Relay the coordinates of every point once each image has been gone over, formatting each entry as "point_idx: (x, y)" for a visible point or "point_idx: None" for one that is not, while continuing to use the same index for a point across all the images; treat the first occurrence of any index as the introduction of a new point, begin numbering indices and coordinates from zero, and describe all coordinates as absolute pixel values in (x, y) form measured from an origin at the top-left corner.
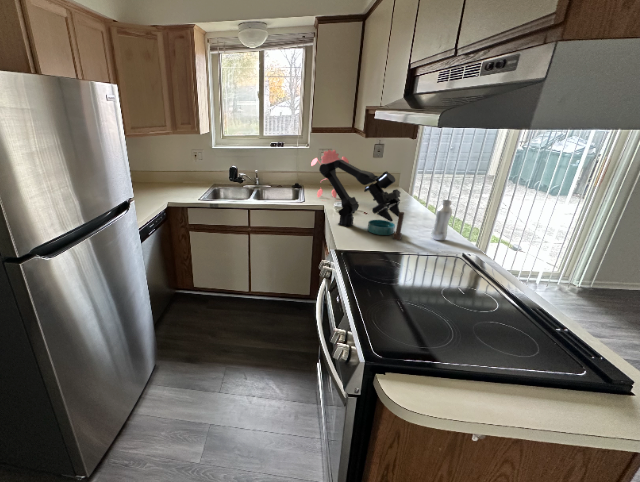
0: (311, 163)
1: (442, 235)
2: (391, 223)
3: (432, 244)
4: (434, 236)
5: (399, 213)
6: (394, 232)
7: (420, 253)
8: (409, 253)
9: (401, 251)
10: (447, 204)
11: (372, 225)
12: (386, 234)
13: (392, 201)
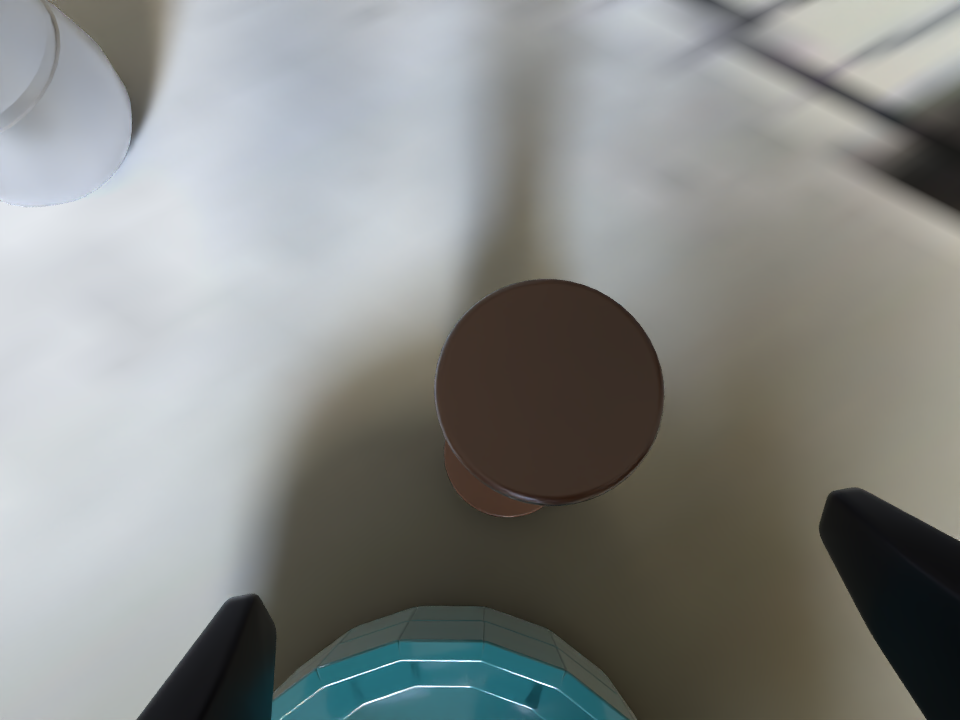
0: None
1: (70, 20)
2: None
3: (300, 99)
4: (116, 124)
5: (642, 447)
6: (527, 509)
7: (678, 35)
8: (792, 94)
9: (830, 171)
10: None
11: None
12: (547, 633)
13: None
